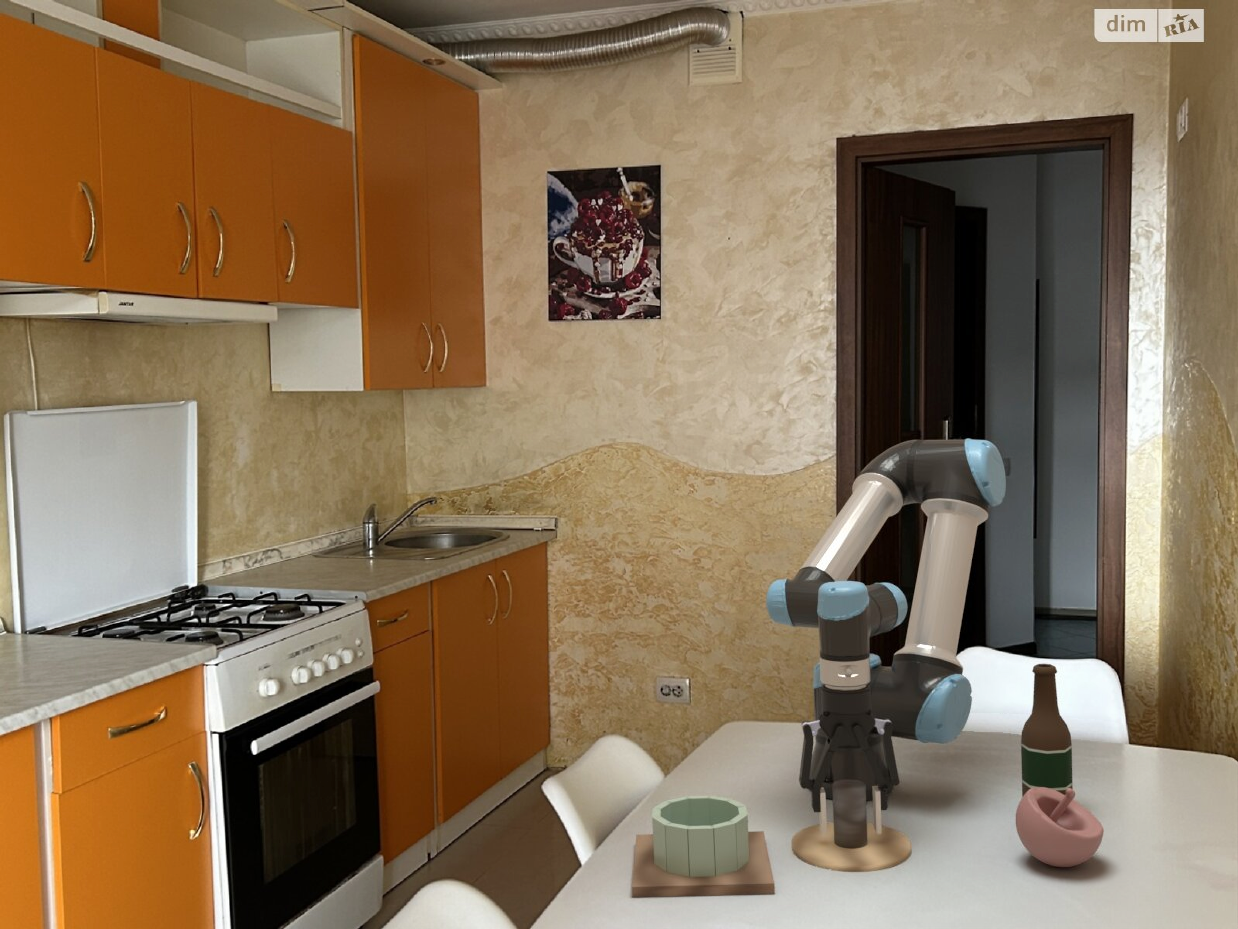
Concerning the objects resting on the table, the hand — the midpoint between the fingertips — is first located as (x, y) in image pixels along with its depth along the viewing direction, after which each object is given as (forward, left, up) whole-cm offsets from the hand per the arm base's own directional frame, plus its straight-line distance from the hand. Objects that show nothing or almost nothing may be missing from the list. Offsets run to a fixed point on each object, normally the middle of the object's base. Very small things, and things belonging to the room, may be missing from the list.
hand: (850, 831), depth 185 cm
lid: (0, 0, -3) cm, 3 cm away
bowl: (+23, +6, -1) cm, 24 cm away
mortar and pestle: (-29, +8, -3) cm, 30 cm away
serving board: (+23, +6, -3) cm, 24 cm away
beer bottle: (-34, -14, -3) cm, 37 cm away
